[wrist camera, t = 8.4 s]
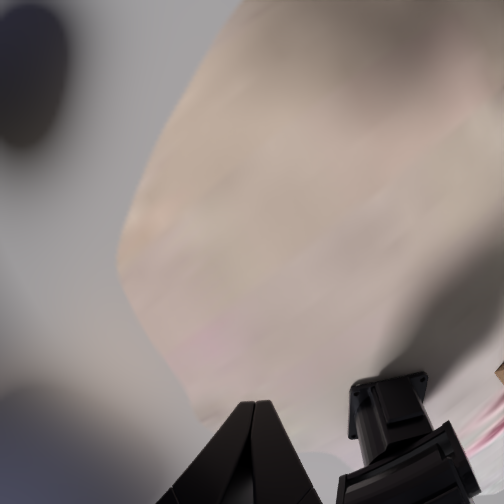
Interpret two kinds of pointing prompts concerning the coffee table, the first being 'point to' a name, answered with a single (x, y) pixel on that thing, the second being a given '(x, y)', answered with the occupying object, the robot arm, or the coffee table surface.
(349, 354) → the coffee table surface
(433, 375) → the coffee table surface
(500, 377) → the wooden block set
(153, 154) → the coffee table surface
